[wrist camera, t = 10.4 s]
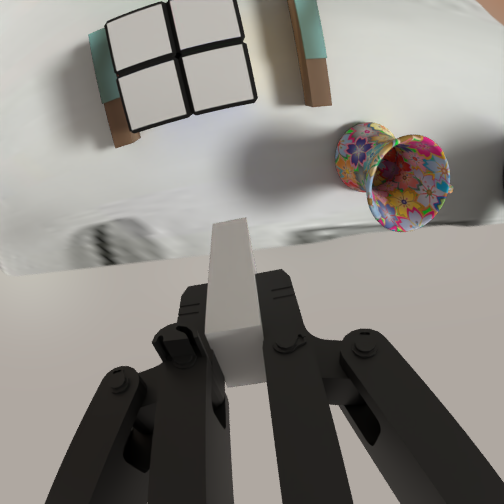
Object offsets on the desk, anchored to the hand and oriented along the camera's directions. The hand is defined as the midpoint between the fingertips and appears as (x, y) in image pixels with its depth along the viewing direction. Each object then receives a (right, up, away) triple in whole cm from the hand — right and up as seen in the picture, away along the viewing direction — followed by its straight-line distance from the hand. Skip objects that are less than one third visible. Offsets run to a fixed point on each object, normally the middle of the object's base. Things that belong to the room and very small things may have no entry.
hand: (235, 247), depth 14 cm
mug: (+15, +11, +19) cm, 27 cm away
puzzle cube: (-5, +19, +12) cm, 23 cm away
